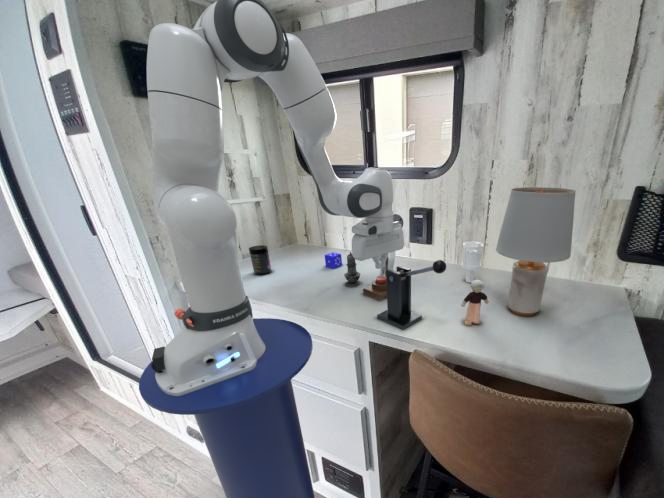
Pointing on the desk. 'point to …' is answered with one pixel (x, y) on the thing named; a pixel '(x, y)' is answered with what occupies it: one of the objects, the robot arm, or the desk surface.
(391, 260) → the beer glass
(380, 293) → the control block
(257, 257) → the supplement container
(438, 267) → the lever
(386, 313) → the bracket
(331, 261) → the die
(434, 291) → the desk surface
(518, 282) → the lamp
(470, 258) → the clear tall cylinder
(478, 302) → the grandmother figurine
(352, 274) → the grey tall figure
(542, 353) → the desk surface
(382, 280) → the button
